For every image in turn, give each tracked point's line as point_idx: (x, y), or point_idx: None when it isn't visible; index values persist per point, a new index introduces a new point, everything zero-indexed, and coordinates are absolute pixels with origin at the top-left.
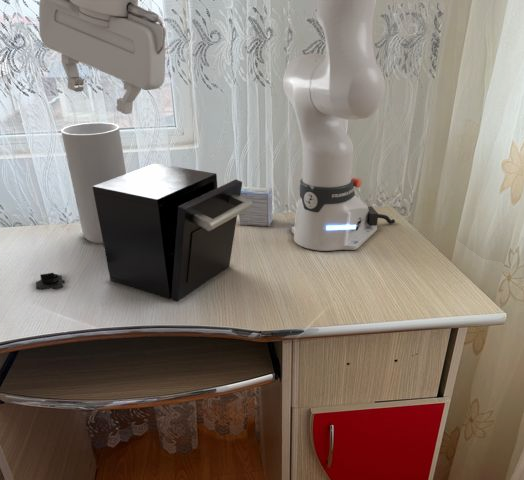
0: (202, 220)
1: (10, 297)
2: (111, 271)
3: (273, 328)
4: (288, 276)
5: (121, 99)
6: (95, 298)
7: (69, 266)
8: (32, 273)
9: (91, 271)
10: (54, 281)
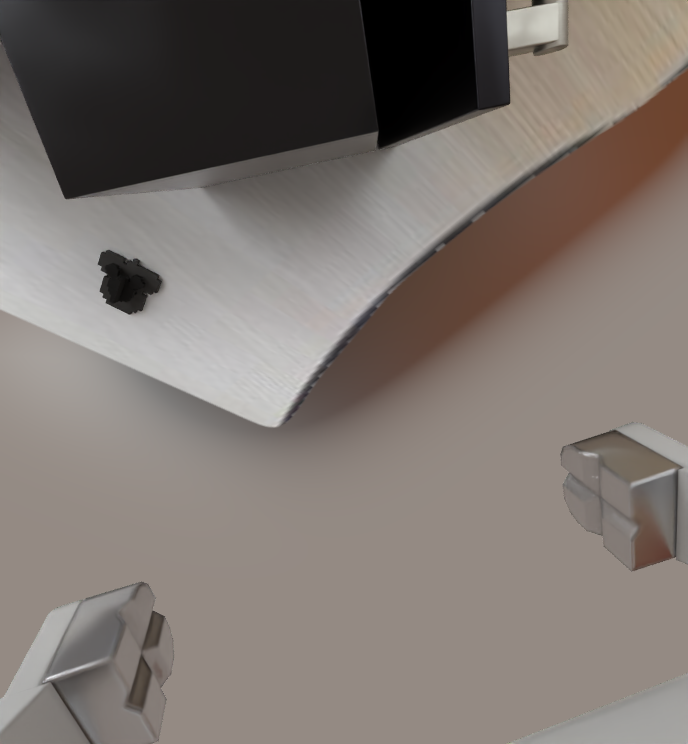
0: (530, 47)
1: (133, 360)
2: (200, 186)
3: (660, 76)
4: None
5: (658, 546)
6: (249, 258)
7: (63, 205)
8: (51, 281)
9: None
10: (141, 287)
